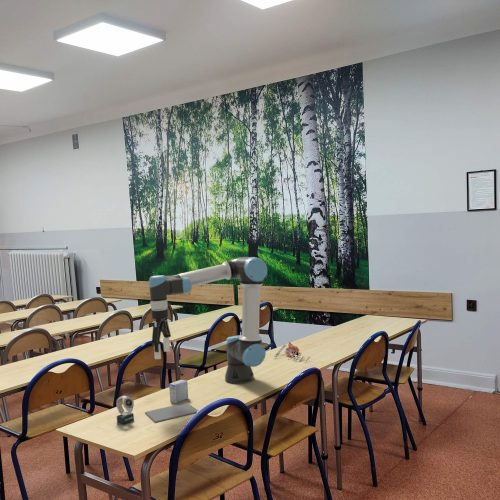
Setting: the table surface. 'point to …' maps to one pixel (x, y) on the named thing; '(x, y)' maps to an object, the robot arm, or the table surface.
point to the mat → (171, 412)
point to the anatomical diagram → (290, 349)
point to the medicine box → (178, 391)
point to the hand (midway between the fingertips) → (162, 355)
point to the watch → (128, 404)
